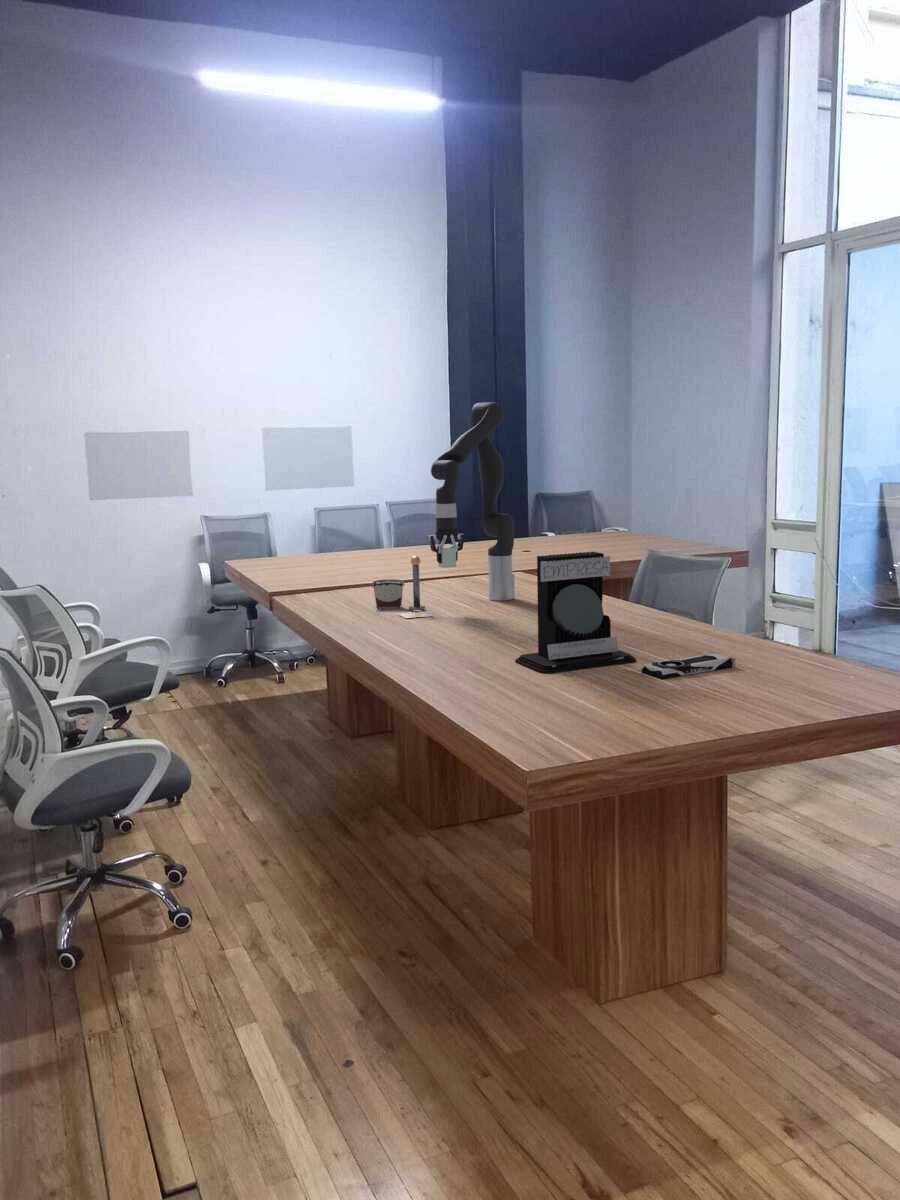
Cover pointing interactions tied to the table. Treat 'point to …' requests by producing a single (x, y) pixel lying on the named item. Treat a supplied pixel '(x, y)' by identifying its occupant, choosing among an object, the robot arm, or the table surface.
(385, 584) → the food container
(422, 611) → the pad
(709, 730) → the table surface
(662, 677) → the graphics card
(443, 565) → the green block
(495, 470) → the robot arm
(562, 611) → the award
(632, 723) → the table surface
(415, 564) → the metal post
